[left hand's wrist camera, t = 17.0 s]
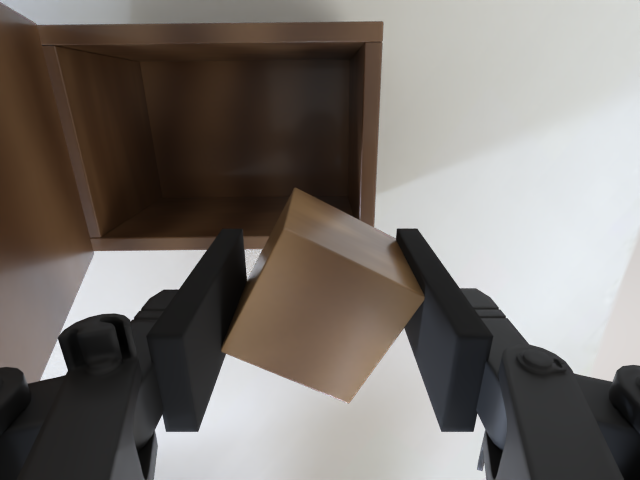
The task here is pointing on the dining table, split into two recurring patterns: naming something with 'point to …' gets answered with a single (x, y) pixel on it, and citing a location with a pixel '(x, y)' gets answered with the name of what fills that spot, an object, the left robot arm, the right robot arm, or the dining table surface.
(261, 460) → the dining table surface
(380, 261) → the block
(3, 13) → the lid
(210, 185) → the chest
